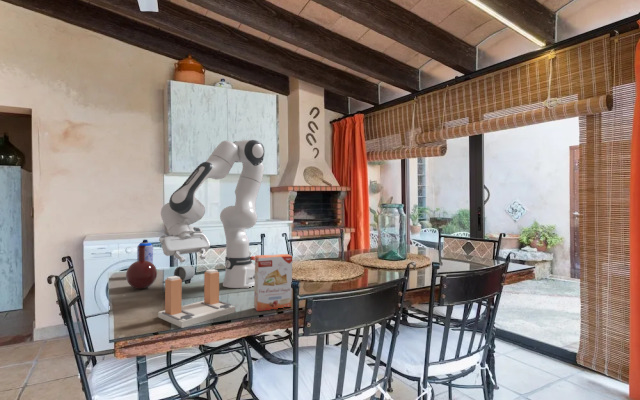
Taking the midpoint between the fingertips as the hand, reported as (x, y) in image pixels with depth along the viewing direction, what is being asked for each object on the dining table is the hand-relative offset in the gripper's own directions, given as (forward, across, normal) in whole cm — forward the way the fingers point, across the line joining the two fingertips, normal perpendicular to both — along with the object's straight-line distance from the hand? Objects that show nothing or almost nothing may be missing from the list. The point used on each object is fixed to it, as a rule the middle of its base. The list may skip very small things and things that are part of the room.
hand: (193, 260), depth 151 cm
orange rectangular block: (+20, -16, +2) cm, 25 cm away
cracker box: (+34, +16, -9) cm, 39 cm away
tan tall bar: (+20, 0, +2) cm, 20 cm away
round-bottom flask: (-14, -4, +39) cm, 42 cm away
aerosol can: (-29, +8, +55) cm, 63 cm away
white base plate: (+23, -8, +1) cm, 25 cm away
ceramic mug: (-15, +18, +40) cm, 47 cm away
